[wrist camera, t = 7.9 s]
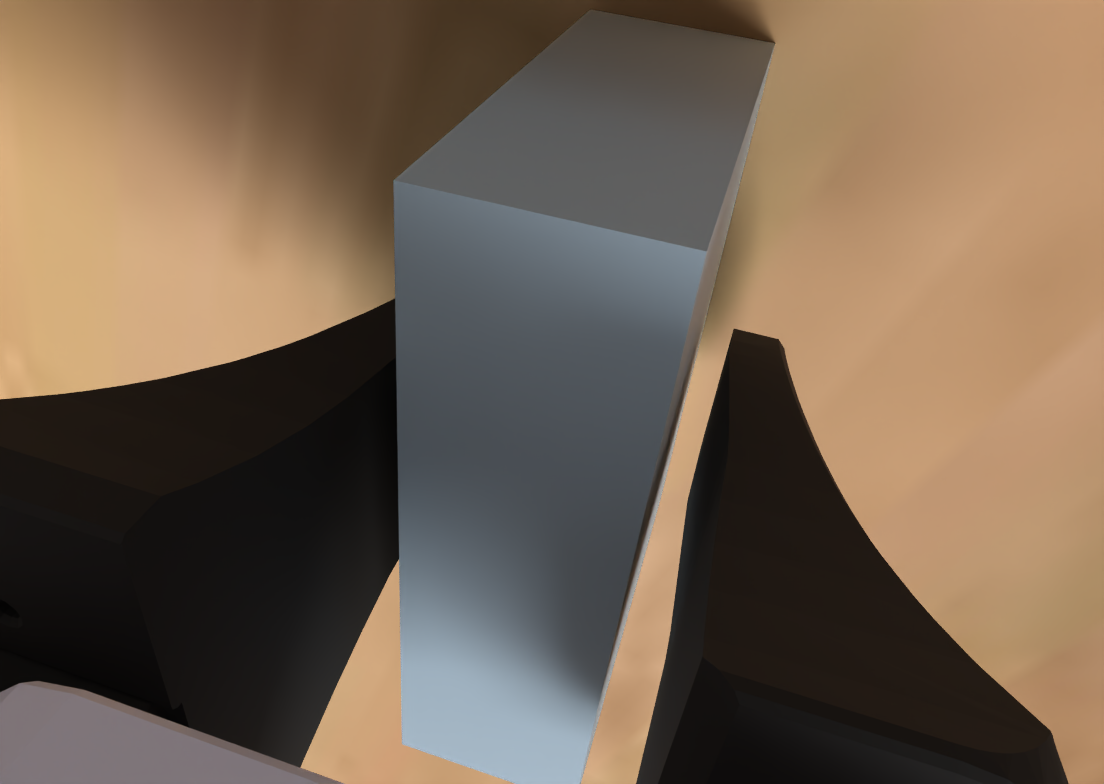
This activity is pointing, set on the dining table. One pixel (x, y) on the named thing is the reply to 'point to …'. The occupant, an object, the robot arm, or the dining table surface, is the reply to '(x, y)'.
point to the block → (552, 373)
